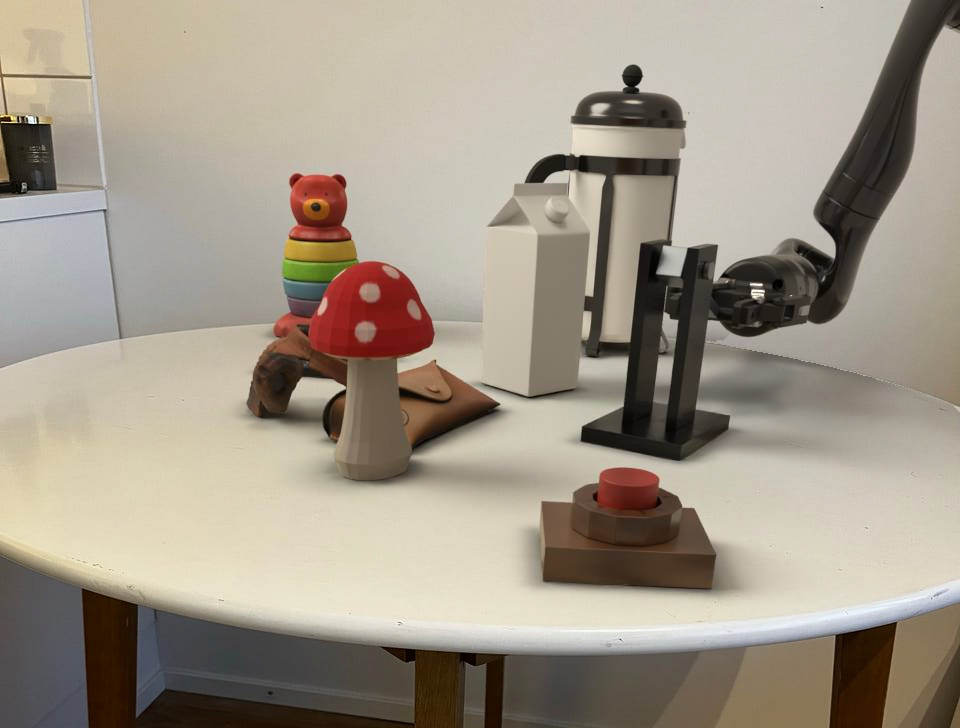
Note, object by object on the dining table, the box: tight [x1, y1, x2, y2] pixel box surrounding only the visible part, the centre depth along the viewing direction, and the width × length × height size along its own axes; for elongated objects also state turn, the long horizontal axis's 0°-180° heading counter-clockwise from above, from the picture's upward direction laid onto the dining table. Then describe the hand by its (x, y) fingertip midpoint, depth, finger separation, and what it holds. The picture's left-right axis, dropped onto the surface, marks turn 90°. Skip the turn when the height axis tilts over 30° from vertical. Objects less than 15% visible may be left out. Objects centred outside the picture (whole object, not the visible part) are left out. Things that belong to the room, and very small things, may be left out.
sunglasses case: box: [321, 359, 501, 449], centre depth 89 cm, size 18×7×7 cm
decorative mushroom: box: [308, 260, 436, 481], centre depth 74 cm, size 10×9×15 cm
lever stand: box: [580, 239, 731, 461], centre depth 86 cm, size 12×9×16 cm
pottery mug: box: [246, 326, 348, 418], centre depth 90 cm, size 12×10×8 cm
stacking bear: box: [273, 172, 360, 338], centre depth 121 cm, size 11×10×18 cm
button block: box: [538, 482, 717, 590], centre depth 63 cm, size 10×8×4 cm
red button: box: [597, 466, 660, 511], centre depth 62 cm, size 4×4×2 cm
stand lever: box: [656, 245, 733, 323], centre depth 88 cm, size 14×5×2 cm, turn 149°
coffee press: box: [524, 63, 688, 358], centre depth 116 cm, size 17×16×30 cm
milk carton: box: [480, 182, 590, 398], centre depth 99 cm, size 7×7×19 cm
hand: (705, 311), depth 91 cm, fingers closed on stand lever, 5 cm apart
